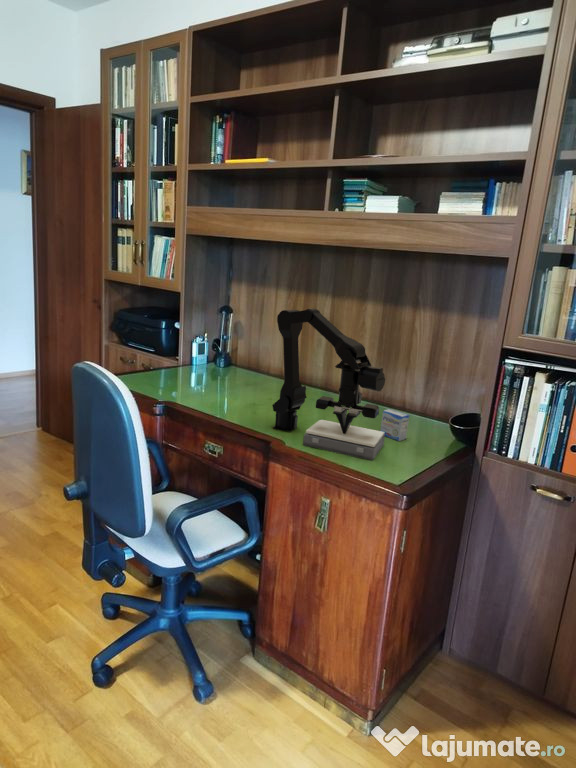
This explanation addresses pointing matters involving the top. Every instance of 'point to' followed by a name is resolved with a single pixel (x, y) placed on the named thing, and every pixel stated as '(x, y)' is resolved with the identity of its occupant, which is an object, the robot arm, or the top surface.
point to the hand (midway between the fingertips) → (344, 433)
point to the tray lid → (352, 435)
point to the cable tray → (343, 446)
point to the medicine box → (394, 424)
